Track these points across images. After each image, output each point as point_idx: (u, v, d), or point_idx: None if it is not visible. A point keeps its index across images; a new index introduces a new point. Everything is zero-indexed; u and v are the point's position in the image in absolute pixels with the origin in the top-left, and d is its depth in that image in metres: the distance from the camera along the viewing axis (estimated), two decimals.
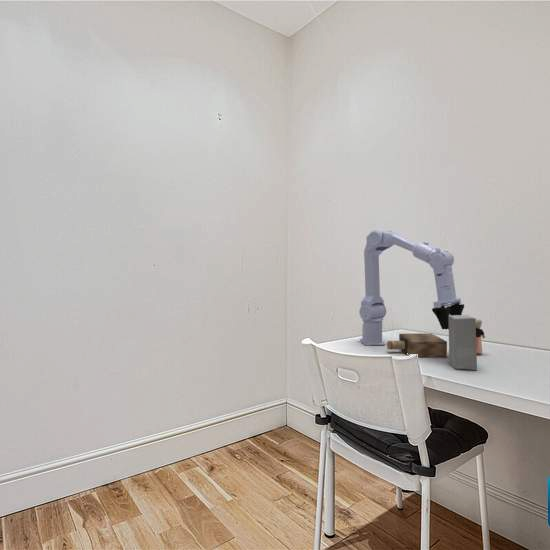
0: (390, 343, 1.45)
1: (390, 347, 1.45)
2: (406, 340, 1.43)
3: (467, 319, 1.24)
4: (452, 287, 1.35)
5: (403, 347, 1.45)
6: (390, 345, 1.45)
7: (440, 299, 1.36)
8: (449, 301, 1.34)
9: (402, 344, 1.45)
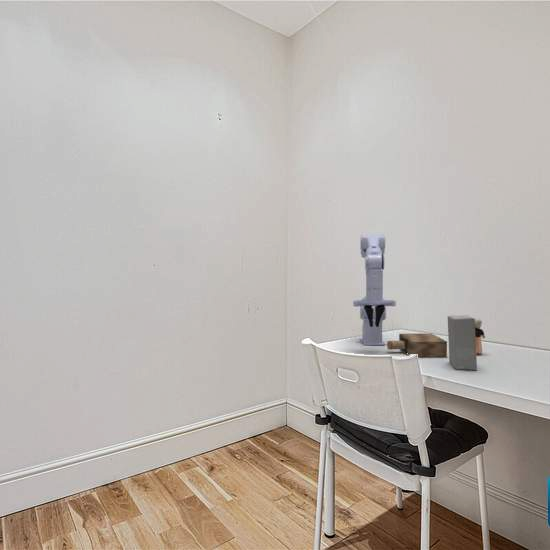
0: (390, 343, 1.45)
1: (390, 347, 1.45)
2: (406, 340, 1.43)
3: (466, 319, 1.24)
4: (374, 290, 1.42)
5: (403, 347, 1.45)
6: (390, 345, 1.45)
7: (366, 299, 1.46)
8: (367, 302, 1.43)
9: (402, 344, 1.45)
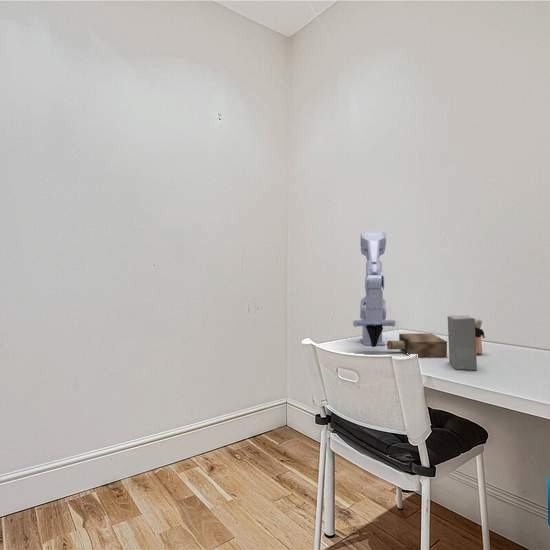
0: (390, 343, 1.45)
1: (390, 347, 1.45)
2: (406, 340, 1.43)
3: (466, 319, 1.24)
4: (374, 310, 1.43)
5: (403, 347, 1.45)
6: (390, 345, 1.45)
7: None
8: (367, 322, 1.44)
9: (402, 344, 1.45)
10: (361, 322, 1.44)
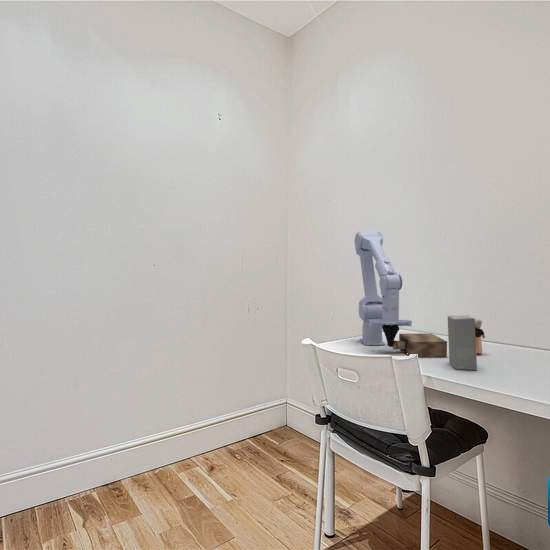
0: (395, 343, 1.45)
1: (395, 347, 1.45)
2: (406, 340, 1.43)
3: (466, 319, 1.24)
4: (390, 310, 1.43)
5: None
6: (395, 345, 1.45)
7: (382, 318, 1.47)
8: (383, 322, 1.44)
9: None
10: (377, 322, 1.44)
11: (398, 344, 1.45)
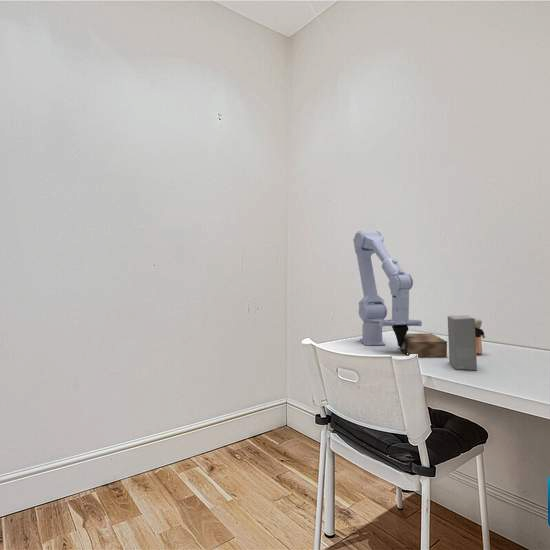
0: None
1: None
2: (406, 340, 1.43)
3: (466, 319, 1.24)
4: (400, 310, 1.43)
5: None
6: None
7: None
8: (393, 322, 1.44)
9: None
10: (387, 322, 1.44)
11: None
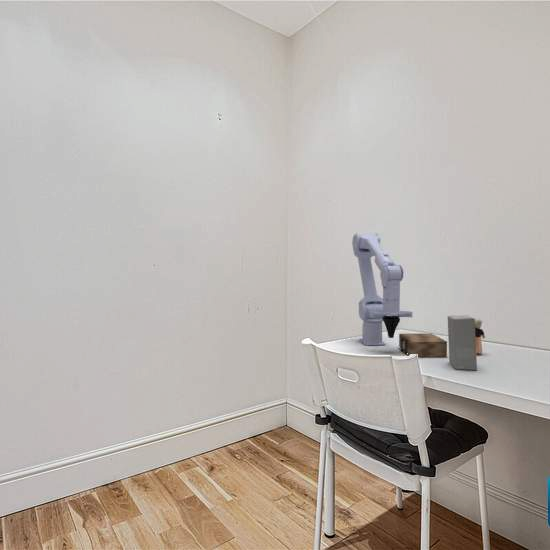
0: None
1: None
2: (406, 340, 1.43)
3: (466, 319, 1.24)
4: (391, 301, 1.43)
5: None
6: None
7: None
8: (384, 313, 1.43)
9: None
10: (378, 313, 1.44)
11: None
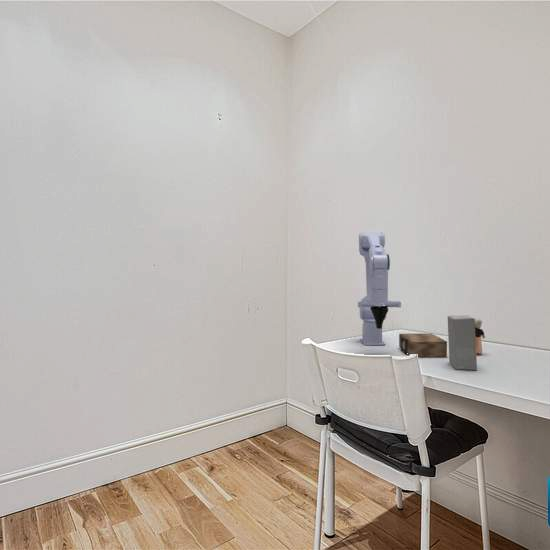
0: None
1: None
2: (406, 340, 1.43)
3: (466, 319, 1.24)
4: (379, 291, 1.39)
5: None
6: None
7: (370, 300, 1.43)
8: (372, 303, 1.40)
9: None
10: (366, 303, 1.41)
11: None
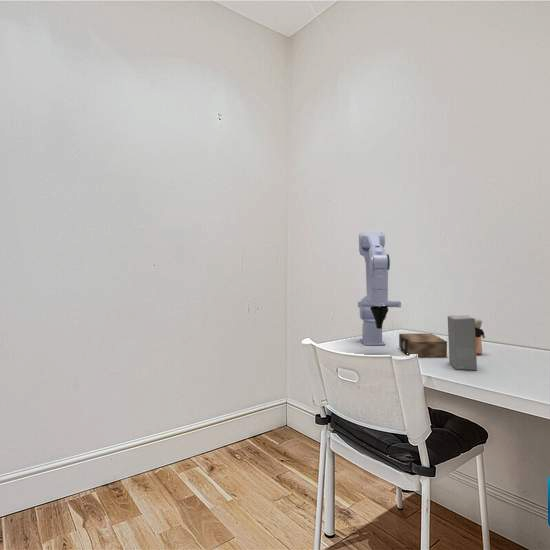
0: None
1: None
2: (406, 340, 1.43)
3: (466, 319, 1.24)
4: (379, 291, 1.39)
5: None
6: None
7: (370, 300, 1.43)
8: (372, 303, 1.40)
9: None
10: (366, 303, 1.41)
11: None
